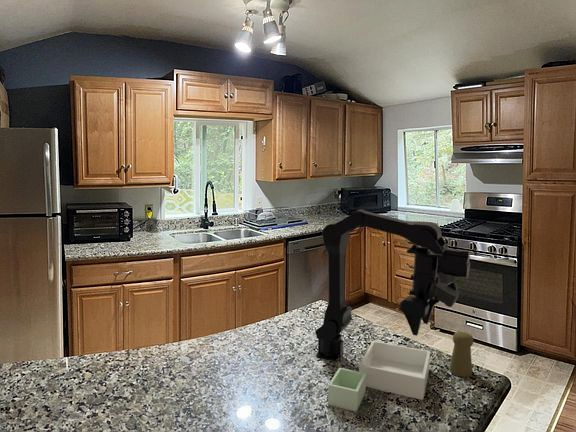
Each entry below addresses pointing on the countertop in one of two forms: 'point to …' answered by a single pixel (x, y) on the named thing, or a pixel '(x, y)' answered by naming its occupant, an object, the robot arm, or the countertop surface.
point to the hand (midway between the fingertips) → (420, 329)
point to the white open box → (396, 369)
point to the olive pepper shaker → (461, 355)
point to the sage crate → (347, 389)
